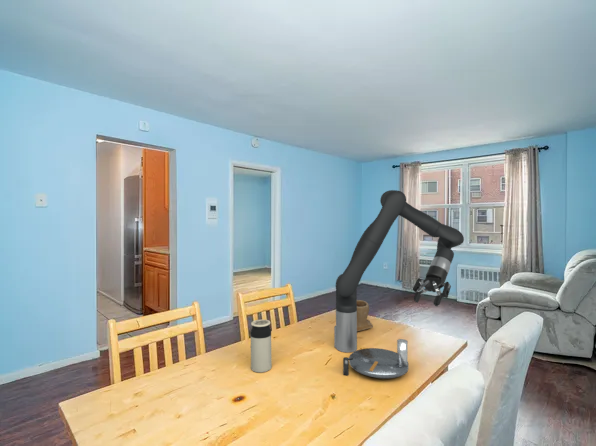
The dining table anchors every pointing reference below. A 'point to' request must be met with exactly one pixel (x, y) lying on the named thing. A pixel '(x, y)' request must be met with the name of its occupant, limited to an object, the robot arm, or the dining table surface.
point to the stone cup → (363, 316)
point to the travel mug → (261, 346)
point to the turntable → (381, 361)
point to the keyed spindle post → (346, 365)
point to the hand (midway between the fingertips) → (425, 303)
